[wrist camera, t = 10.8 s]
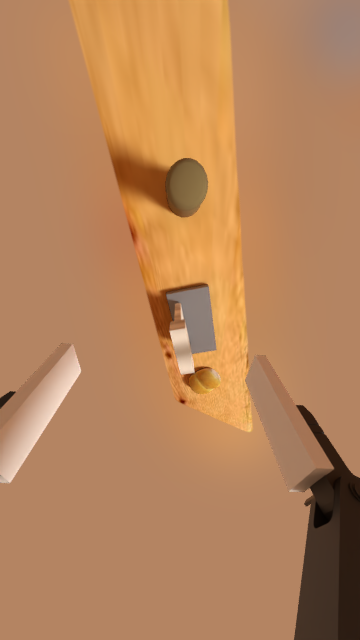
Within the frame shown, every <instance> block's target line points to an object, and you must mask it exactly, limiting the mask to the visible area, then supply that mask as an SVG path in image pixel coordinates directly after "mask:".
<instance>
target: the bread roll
mask: <svg viewBox="0 0 360 640" xmlns="http://www.w3.org/2000/svg"><path fill="white" fill-rule="evenodd" d="M220 383H221V379H220V375H219V374H218V373H217V372H216V371H215V370H213V369H211V368H204V369H201V370H199V371H197V372H196V373H194V374H192V375H191V376H190V378H189V385H190V387H191V389H192V390H193V391H194V392H196V393H198V394H207V393H209V392H211V391H212V390H213V389H216V388H218V387H219V385H220Z"/></svg>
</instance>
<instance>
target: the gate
mask: <svg viewBox="0 0 360 640" xmlns="http://www.w3.org/2000/svg"><path fill="white" fill-rule="evenodd" d="M169 331H170V335H171V339H172V343H173V346H174V350H175V354H176V358H177V362H178V365H179V369H180V373H181V375H182V374H189V373H195V372H194V362H193V357H192V352H191V342H190V341H189V337H188V332H187V328H186V323H185V319H184V317H183V312H182V307H181V303H176V304H175V315H174V321H171V322H170V330H169Z"/></svg>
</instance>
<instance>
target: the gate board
mask: <svg viewBox="0 0 360 640" xmlns="http://www.w3.org/2000/svg"><path fill="white" fill-rule="evenodd" d="M166 296H167V300H168V304H169V308H170V312H171V316H172V320H173V321H174V315H175V304H176V303H181V307H182V312H183V317H184V319H185V323H186V328H187V332H188V337H189V341H190V342H191V352H192V354H195V353H201V352H207V351H214V350H216V343H215V335H214V327H213V318H212V310H211V302H210V294H209V286H208V284H206V285H201V286H196V287H191V288H186V289H180V290H175V291H170V292H166Z"/></svg>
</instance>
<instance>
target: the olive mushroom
mask: <svg viewBox="0 0 360 640" xmlns="http://www.w3.org/2000/svg"><path fill="white" fill-rule="evenodd" d="M207 189H208V180H207V175H206V172H205V170H204V168H203V166H201V165H200V164H199V163H198V162H197V161H196V160H193V159H191V158H183V159H181V160H179V161H177V162H176V163H175V164H173V165H172V166H171V168H170V170H169V172H168V174H167V178H166V193H167V201H168V204H169V207H170V209H171V210H172V212H173V213H175V214H176V215H177V216H180V217H189V216H191V215H193V214H194V213H195V212H197V210H198V209H199V207H200V205H201V203H202V202H203V200H204V199H205V196H206V193H207Z"/></svg>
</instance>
